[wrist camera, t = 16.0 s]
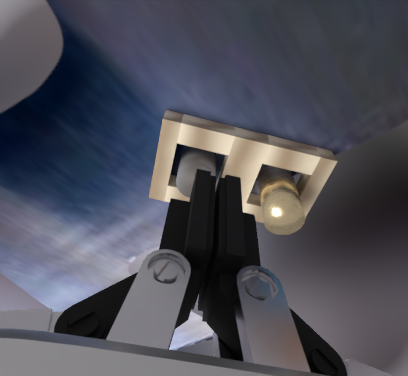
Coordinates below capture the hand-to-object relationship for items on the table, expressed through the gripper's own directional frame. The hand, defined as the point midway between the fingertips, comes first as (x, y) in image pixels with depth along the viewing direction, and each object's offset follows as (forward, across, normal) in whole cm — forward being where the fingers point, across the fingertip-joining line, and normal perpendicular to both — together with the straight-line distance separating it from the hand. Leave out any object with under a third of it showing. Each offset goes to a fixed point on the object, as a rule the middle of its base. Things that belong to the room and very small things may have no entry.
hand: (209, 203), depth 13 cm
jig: (+25, -5, +13) cm, 29 cm away
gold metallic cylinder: (+25, -10, +13) cm, 30 cm away
